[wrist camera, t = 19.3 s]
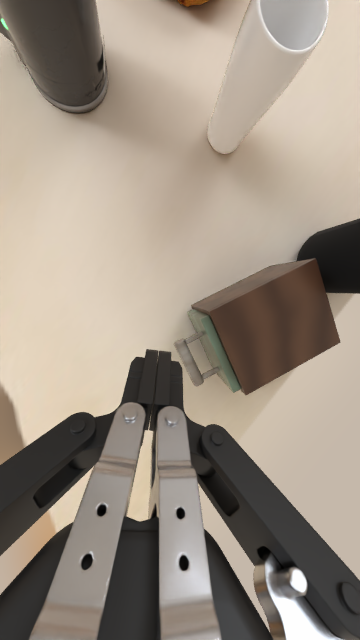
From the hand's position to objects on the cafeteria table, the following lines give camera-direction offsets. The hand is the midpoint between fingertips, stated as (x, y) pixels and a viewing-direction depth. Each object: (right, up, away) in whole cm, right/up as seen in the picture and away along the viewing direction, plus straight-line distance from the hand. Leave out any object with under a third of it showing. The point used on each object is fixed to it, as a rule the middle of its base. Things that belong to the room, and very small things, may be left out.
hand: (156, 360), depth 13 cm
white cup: (+8, +30, +19) cm, 37 cm away
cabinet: (+13, +3, +24) cm, 27 cm away
